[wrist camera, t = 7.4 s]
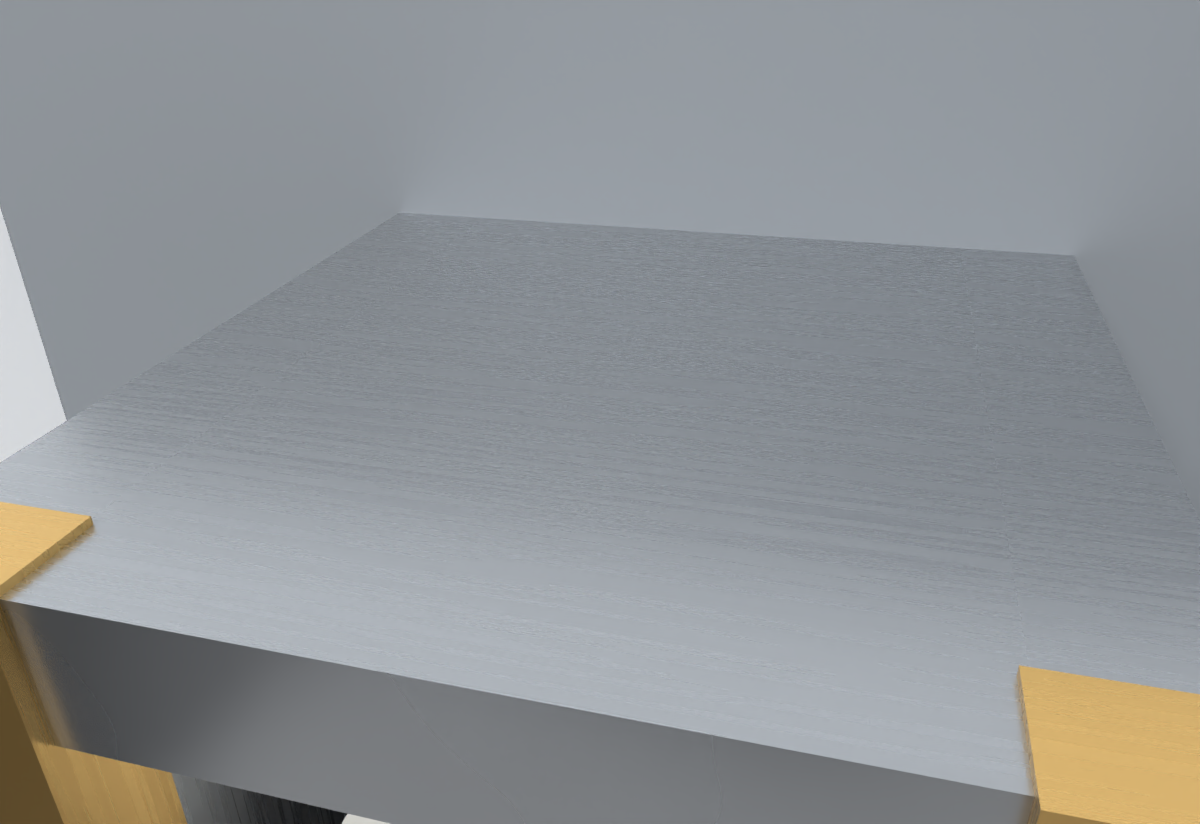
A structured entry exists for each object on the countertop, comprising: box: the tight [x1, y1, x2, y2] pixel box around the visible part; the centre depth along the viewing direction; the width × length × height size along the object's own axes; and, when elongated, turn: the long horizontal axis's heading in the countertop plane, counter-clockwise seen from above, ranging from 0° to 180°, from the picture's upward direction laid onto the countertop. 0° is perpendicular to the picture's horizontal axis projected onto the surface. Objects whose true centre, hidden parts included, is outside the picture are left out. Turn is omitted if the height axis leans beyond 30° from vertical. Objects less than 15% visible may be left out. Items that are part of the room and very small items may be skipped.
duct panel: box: [0, 0, 1200, 824], centre depth 10 cm, size 14×18×6 cm
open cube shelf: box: [0, 213, 1200, 824], centre depth 8 cm, size 6×6×6 cm
